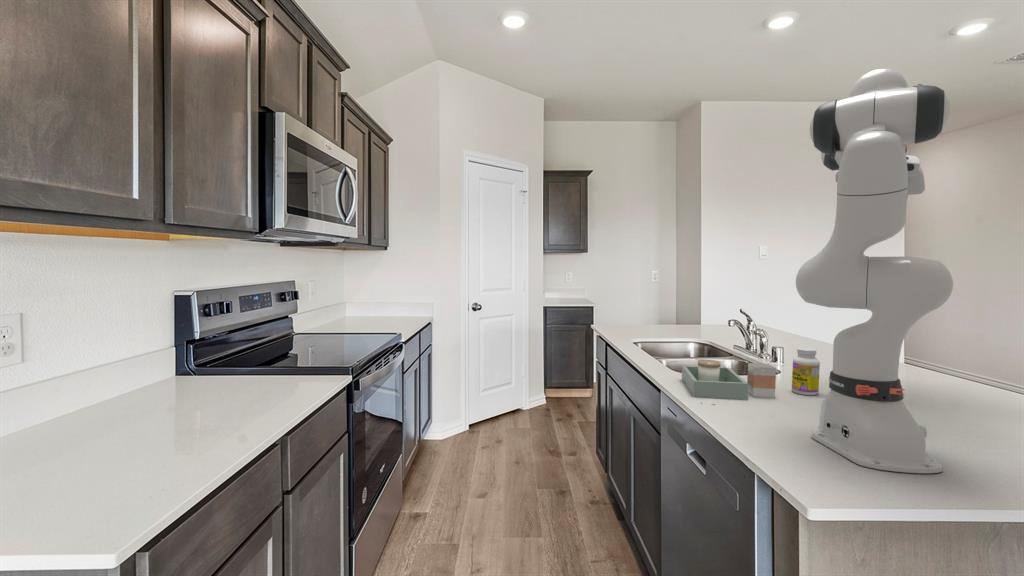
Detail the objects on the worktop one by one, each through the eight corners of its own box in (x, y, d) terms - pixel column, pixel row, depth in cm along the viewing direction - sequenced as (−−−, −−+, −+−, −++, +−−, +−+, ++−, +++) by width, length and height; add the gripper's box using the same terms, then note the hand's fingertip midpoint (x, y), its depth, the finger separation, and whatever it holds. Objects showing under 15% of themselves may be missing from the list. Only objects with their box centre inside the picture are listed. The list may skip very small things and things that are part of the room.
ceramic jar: (722, 387, 141) (722, 364, 140) (699, 386, 142) (700, 363, 142) (717, 382, 147) (717, 360, 147) (695, 381, 148) (695, 359, 148)
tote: (747, 402, 129) (748, 383, 128) (693, 399, 131) (693, 381, 131) (728, 383, 148) (729, 367, 148) (681, 381, 151) (682, 365, 150)
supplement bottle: (786, 390, 140) (787, 347, 139) (803, 389, 142) (805, 346, 141) (806, 396, 134) (808, 351, 133) (824, 395, 136) (826, 350, 135)
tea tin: (775, 400, 130) (776, 367, 130) (753, 399, 131) (753, 367, 131) (768, 394, 136) (769, 363, 135) (747, 393, 137) (747, 362, 136)
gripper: (834, 173, 139) (835, 216, 145) (927, 163, 127) (923, 211, 133) (836, 166, 143) (836, 208, 149) (925, 156, 131) (922, 203, 137)
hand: (878, 210), depth 141 cm, fingers open, 8 cm apart
